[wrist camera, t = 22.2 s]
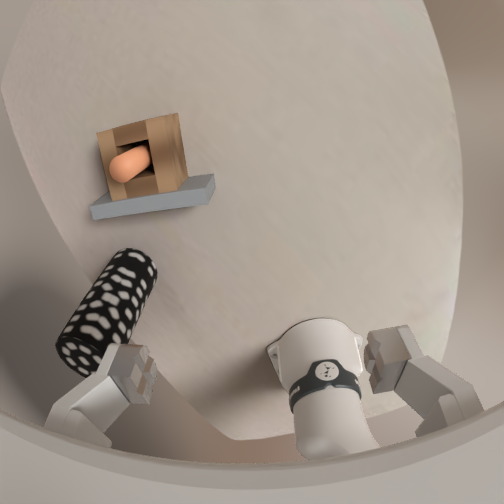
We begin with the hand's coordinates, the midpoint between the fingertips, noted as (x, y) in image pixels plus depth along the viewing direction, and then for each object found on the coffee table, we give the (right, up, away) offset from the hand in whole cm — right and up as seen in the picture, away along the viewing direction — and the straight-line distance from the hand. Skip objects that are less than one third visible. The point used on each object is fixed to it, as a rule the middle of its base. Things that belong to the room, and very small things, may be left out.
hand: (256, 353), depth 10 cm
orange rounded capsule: (-14, +17, +26) cm, 34 cm away
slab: (-13, +13, +29) cm, 34 cm away
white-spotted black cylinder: (-20, +1, +36) cm, 41 cm away
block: (-14, +17, +26) cm, 34 cm away
